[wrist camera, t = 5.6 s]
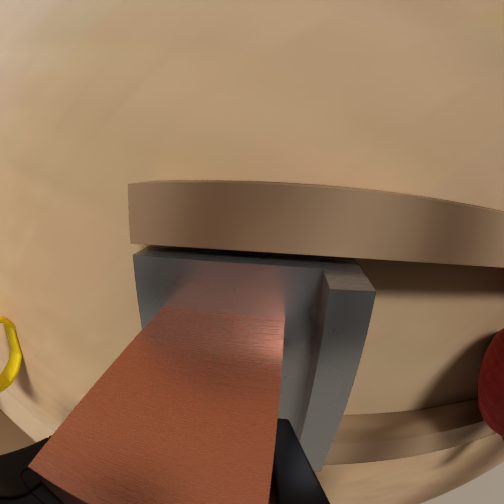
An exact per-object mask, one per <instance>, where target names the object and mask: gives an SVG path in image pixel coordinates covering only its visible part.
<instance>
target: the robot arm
mask: <svg viewBox="0 0 504 504" xmlns="http://www.w3.org/2000/svg"><path fill="white" fill-rule="evenodd" d="M51 436H52V435H51ZM51 436H49V437H48V438H45V439H43V440H41V441H39V442H37V443H34V444H32V445H30V446H28V447H25V448H22V449H19V450H16V451H14V452H10V453H7V454H3V455H0V504H64V503H63V502H62V501H61V500H60V499H59V498H58V497H57V496H56V495H55V494H54V493H53V492H52V491H51V490H50V489H49V488H48V487H47V486H46V485H45V484H44V483H43V482H42V481H41V480H40V479H39V478H38V477H37V476H36V475H35V474H34V473H33V471H32V470H31V469H30V468H29V467H28V465H29V464H30V463H31V462H32V460H33V459H34V458H35V456H36V455H37V454H38V453H39V451H40V450H41V449H42V448H43V446H44V445H45V444H46V443H47V441H48V440H49V439H50V438H51ZM268 504H330V502H329V501H328V499H327V497H326V495H325V493H324V491H323V489H322V487H321V485H320V483H319V481H318V479H317V477H316V475H315V473H314V471H313V469H312V467H311V465H310V463H309V461H308V459H307V457H306V454H305V452H304V450H303V448H302V446H301V444H300V442H299V440H298V438H297V436H296V434H295V431H294V429H293V427H292V425H291V423H290V421H289V420H288V419H281V418H278V419H277V430H276V440H275V450H274V459H273V468H272V477H271V485H270V493H269V501H268Z"/></svg>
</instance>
